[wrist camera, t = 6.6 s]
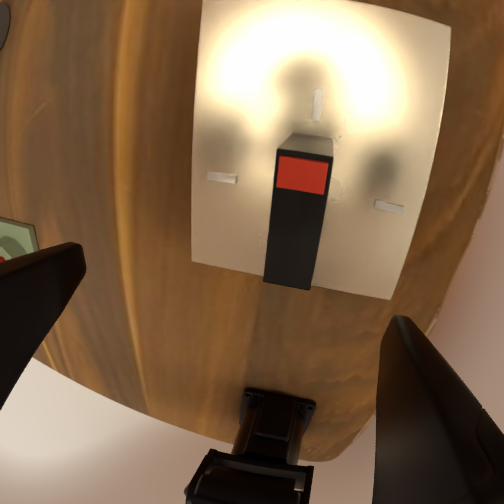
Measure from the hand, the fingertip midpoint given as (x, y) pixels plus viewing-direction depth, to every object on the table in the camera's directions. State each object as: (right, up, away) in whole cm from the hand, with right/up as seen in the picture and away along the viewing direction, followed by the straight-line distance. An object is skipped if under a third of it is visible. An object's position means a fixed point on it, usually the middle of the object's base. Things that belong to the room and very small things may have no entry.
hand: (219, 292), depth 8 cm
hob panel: (+4, +7, +7) cm, 11 cm away
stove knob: (+3, +4, +6) cm, 8 cm away
